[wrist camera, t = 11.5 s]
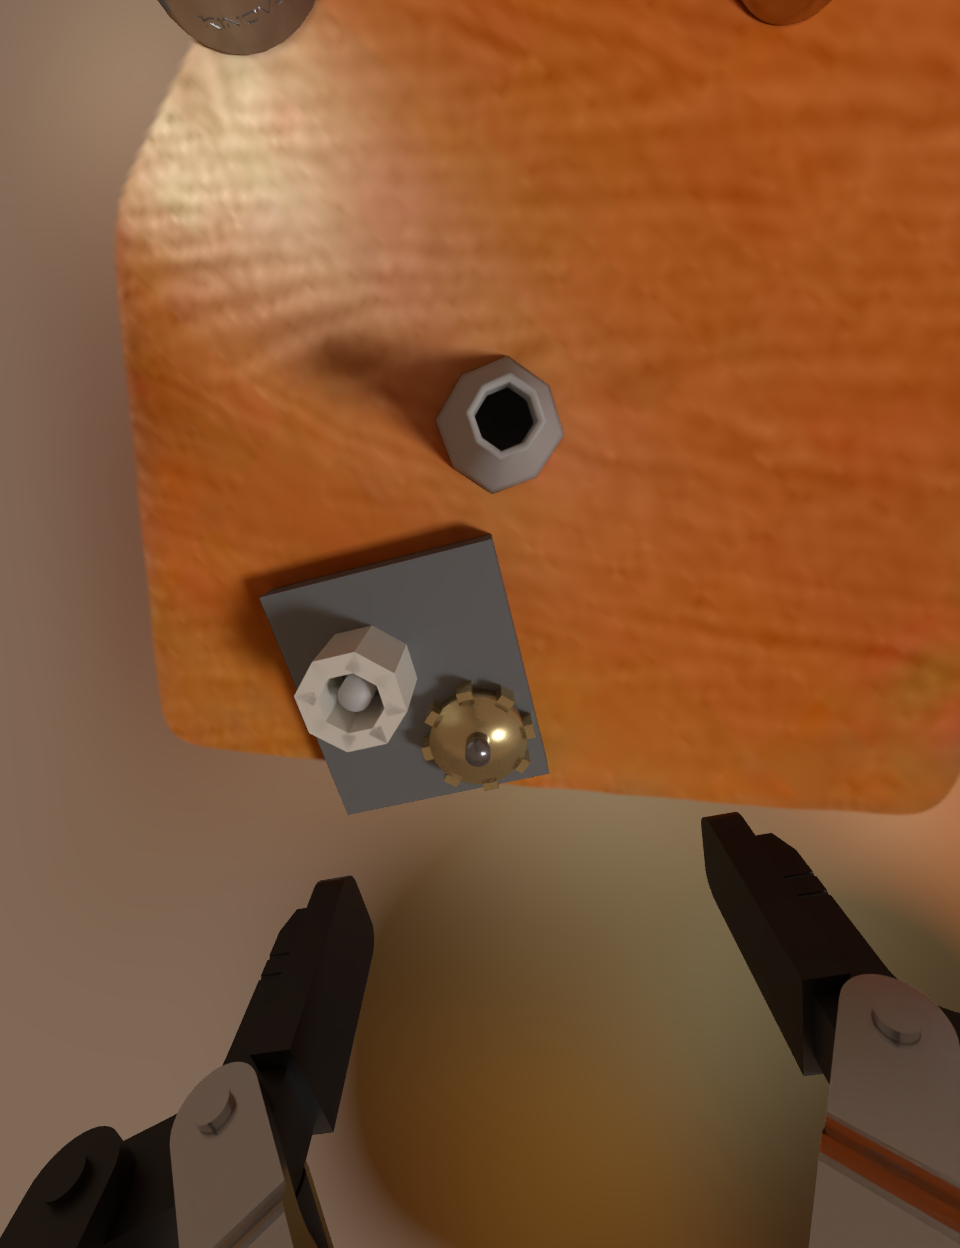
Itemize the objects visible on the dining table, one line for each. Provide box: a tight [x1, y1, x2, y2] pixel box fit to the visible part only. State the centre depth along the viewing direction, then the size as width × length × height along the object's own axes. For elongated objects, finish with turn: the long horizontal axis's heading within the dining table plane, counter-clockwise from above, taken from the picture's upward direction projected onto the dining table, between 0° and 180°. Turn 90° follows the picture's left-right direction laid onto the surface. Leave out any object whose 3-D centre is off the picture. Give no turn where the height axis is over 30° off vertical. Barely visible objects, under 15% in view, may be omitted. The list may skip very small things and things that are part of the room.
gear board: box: [259, 534, 549, 815], centre depth 33 cm, size 17×15×6 cm
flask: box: [435, 356, 564, 494], centre depth 25 cm, size 7×7×10 cm
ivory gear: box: [294, 625, 417, 752], centre depth 31 cm, size 6×6×4 cm
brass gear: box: [421, 681, 536, 791], centre depth 33 cm, size 8×8×3 cm
